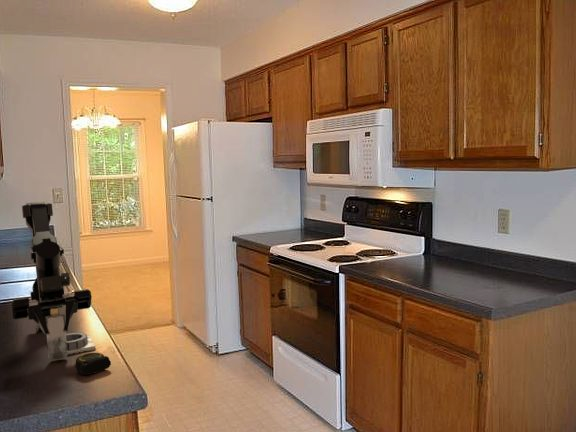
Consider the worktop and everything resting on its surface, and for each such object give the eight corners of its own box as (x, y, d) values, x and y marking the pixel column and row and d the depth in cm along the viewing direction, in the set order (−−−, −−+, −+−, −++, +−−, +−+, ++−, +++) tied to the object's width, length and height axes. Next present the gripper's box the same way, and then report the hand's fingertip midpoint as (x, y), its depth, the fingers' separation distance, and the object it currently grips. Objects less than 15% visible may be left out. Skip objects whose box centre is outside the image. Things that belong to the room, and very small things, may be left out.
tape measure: (84, 380, 126) (82, 364, 126) (71, 372, 131) (70, 357, 130) (111, 371, 131) (110, 356, 130) (98, 364, 136) (97, 349, 135)
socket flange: (47, 345, 151) (46, 336, 150) (89, 338, 156) (88, 328, 155) (51, 357, 141) (50, 347, 141) (95, 349, 146) (94, 339, 146)
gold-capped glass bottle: (47, 355, 140) (43, 307, 138) (66, 351, 142) (63, 304, 140) (49, 360, 136) (45, 311, 134) (68, 357, 138) (64, 309, 136)
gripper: (8, 267, 135) (13, 322, 127) (87, 258, 144) (97, 309, 135) (10, 292, 143) (15, 345, 134) (85, 282, 152) (94, 331, 143)
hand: (56, 332), depth 137 cm, fingers closed on gold-capped glass bottle, 4 cm apart
